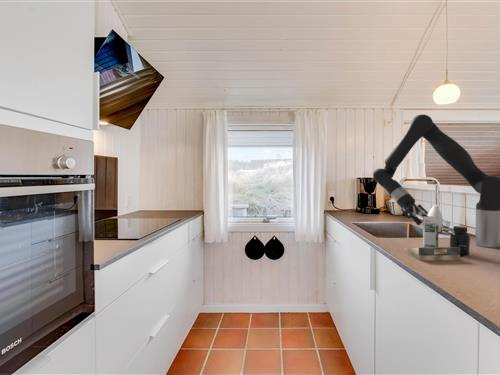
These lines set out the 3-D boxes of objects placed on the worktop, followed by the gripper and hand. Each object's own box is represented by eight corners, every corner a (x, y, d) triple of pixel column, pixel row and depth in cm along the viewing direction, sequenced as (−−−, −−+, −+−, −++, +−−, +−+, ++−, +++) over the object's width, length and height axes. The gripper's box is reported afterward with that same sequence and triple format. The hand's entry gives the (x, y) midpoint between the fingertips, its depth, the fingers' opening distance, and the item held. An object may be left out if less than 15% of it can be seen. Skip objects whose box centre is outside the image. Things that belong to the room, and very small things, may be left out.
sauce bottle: (445, 232, 165) (446, 202, 164) (435, 233, 163) (436, 202, 162) (433, 230, 172) (433, 201, 172) (423, 231, 170) (423, 201, 169)
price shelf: (440, 251, 126) (440, 240, 126) (460, 260, 114) (460, 247, 113) (404, 252, 126) (404, 241, 126) (420, 260, 114) (420, 248, 114)
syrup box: (423, 247, 133) (424, 217, 132) (422, 245, 138) (423, 215, 138) (438, 249, 130) (438, 218, 130) (436, 246, 136) (437, 216, 135)
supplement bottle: (461, 257, 118) (461, 228, 117) (445, 253, 124) (446, 225, 124) (473, 255, 119) (474, 227, 119) (457, 251, 126) (458, 224, 125)
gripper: (399, 193, 139) (422, 219, 130) (415, 192, 146) (439, 217, 137) (389, 203, 144) (411, 229, 135) (405, 201, 151) (427, 226, 142)
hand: (425, 223), depth 136 cm, fingers open, 8 cm apart
